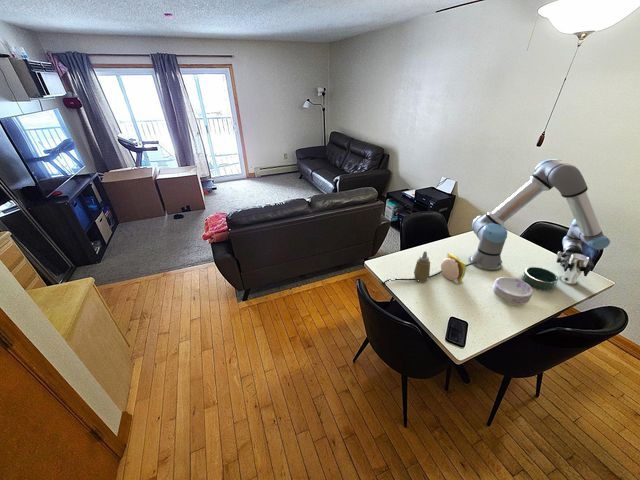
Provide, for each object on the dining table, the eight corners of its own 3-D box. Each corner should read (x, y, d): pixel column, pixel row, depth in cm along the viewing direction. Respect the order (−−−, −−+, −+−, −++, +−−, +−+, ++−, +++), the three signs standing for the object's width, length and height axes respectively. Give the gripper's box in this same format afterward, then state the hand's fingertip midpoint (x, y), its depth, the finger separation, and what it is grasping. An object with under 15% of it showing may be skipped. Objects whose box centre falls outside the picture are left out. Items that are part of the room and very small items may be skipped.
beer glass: (580, 285, 134) (593, 261, 127) (564, 284, 136) (576, 260, 128) (571, 277, 140) (584, 253, 133) (556, 276, 142) (568, 252, 134)
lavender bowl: (483, 292, 133) (487, 279, 130) (507, 285, 137) (512, 273, 133) (510, 312, 121) (515, 299, 117) (535, 305, 124) (542, 292, 120)
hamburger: (436, 273, 149) (439, 255, 143) (448, 269, 151) (452, 252, 146) (452, 285, 139) (456, 266, 133) (464, 281, 141) (469, 263, 136)
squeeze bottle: (410, 279, 145) (414, 252, 136) (416, 273, 150) (421, 246, 141) (424, 285, 140) (429, 257, 131) (430, 278, 145) (436, 250, 136)
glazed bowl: (528, 289, 133) (532, 281, 131) (517, 274, 145) (520, 265, 142) (559, 292, 131) (564, 283, 128) (545, 276, 142) (549, 267, 139)
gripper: (594, 262, 142) (600, 284, 127) (547, 251, 153) (548, 271, 137) (600, 250, 139) (607, 271, 123) (552, 240, 149) (553, 259, 134)
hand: (576, 271), depth 130 cm, fingers closed on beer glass, 7 cm apart
